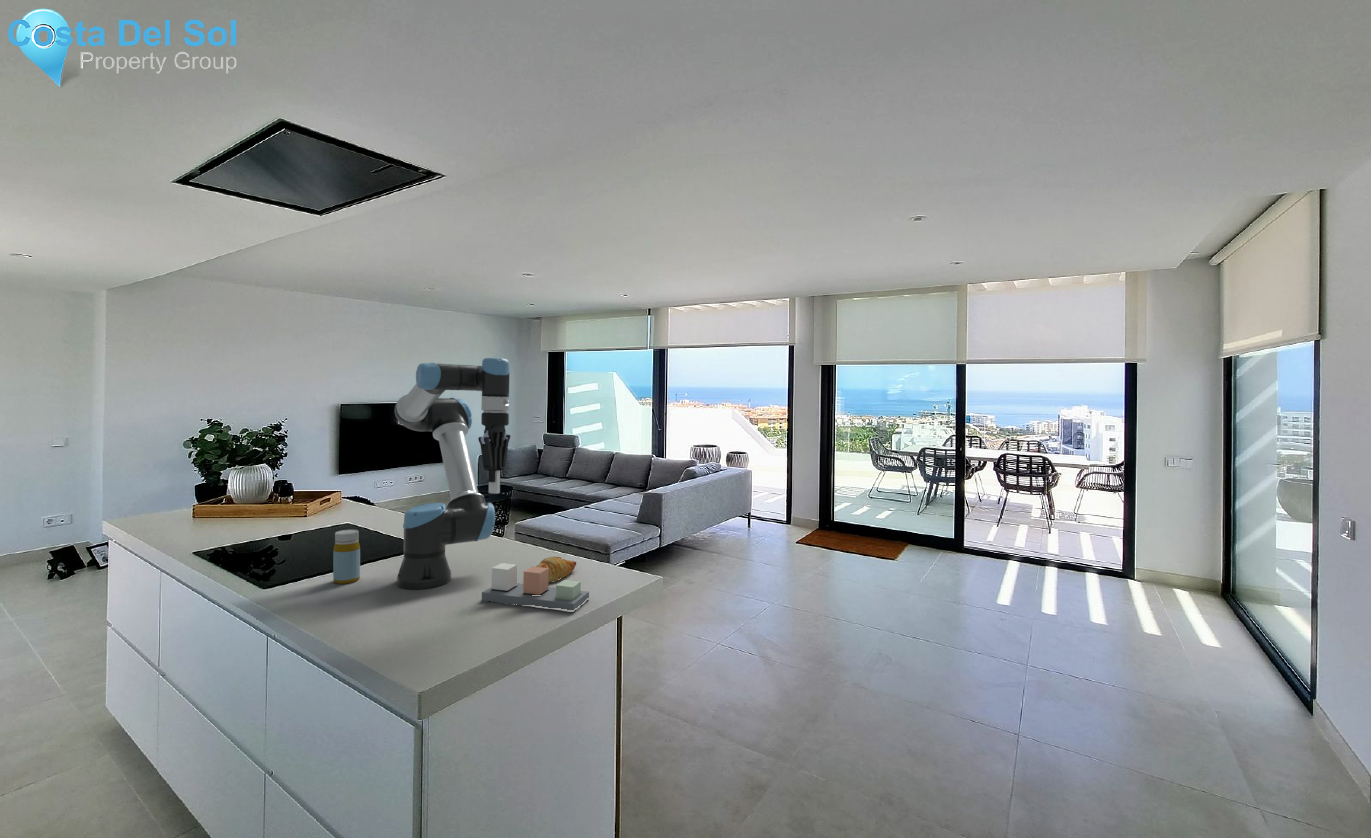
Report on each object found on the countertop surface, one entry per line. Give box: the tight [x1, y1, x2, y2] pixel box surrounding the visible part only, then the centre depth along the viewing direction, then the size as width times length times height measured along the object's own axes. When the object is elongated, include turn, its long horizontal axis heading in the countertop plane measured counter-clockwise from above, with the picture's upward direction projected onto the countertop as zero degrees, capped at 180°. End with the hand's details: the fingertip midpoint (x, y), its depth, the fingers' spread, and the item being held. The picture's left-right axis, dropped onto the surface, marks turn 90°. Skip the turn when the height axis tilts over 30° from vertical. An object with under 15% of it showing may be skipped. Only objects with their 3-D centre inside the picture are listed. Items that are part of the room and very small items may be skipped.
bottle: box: [332, 529, 361, 585], centre depth 174 cm, size 7×7×15 cm
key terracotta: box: [522, 566, 549, 595], centre depth 162 cm, size 5×5×6 cm
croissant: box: [535, 556, 577, 583], centre depth 182 cm, size 21×10×8 cm, turn 146°
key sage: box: [555, 579, 582, 601], centre depth 159 cm, size 5×5×6 cm
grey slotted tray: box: [481, 582, 590, 610], centre depth 162 cm, size 28×10×2 cm, turn 76°
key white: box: [491, 562, 518, 591], centre depth 164 cm, size 5×5×6 cm
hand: (494, 492), depth 166 cm, fingers closed
